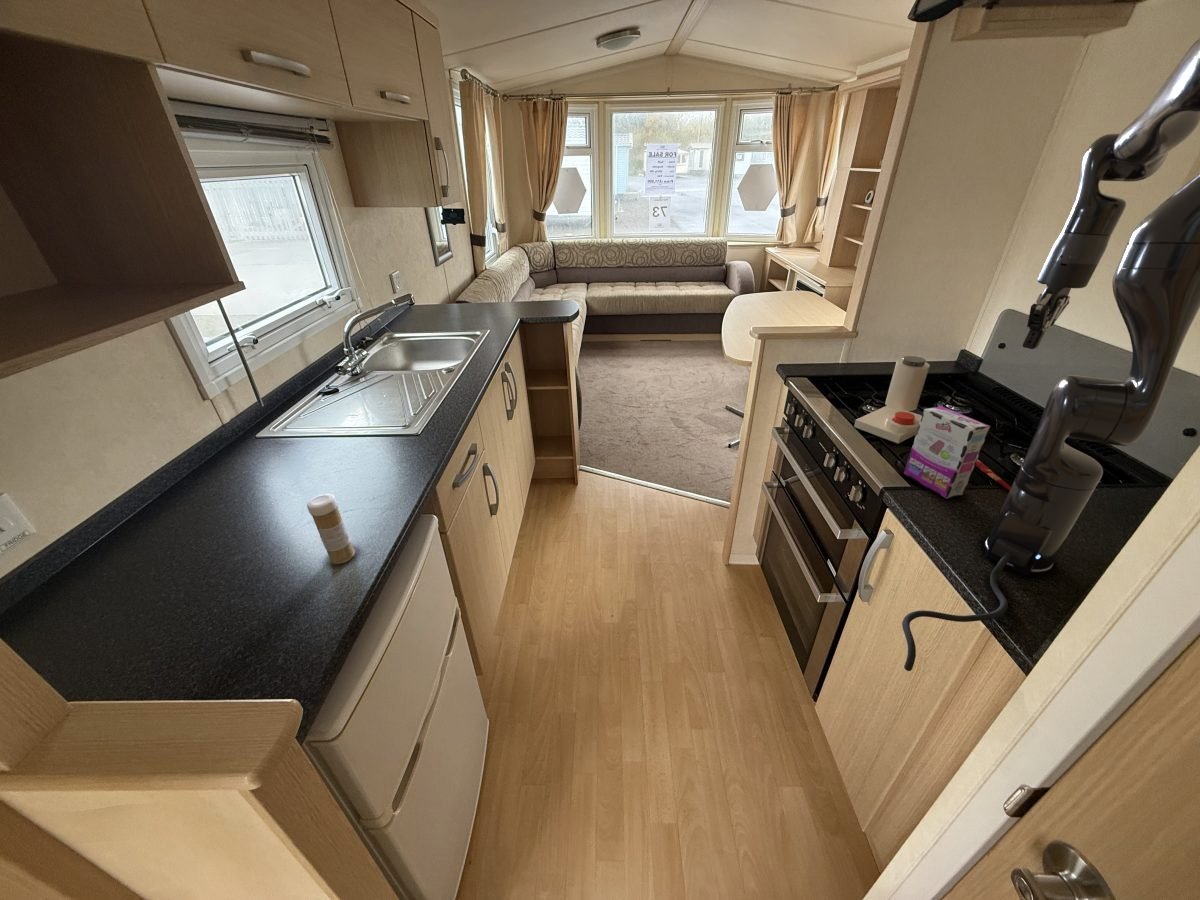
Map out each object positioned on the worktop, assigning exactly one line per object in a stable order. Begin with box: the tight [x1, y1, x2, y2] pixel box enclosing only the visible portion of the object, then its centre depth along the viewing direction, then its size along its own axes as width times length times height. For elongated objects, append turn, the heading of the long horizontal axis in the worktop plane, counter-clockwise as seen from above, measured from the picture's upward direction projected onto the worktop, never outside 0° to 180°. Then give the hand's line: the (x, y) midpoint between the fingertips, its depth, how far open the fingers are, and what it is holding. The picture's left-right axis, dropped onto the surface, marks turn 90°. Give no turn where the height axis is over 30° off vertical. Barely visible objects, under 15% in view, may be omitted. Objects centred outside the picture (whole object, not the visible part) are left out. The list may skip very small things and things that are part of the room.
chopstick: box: [974, 458, 1012, 492], centre depth 108 cm, size 2×24×1 cm, turn 179°
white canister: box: [884, 355, 931, 412], centre depth 128 cm, size 8×8×13 cm
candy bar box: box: [903, 405, 991, 499], centre depth 101 cm, size 11×5×16 cm, turn 17°
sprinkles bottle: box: [306, 493, 356, 565], centre depth 89 cm, size 5×5×14 cm
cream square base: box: [853, 405, 923, 444], centre depth 128 cm, size 16×13×4 cm
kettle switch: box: [893, 412, 915, 425], centre depth 123 cm, size 4×4×2 cm
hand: (1029, 347), depth 99 cm, fingers closed
